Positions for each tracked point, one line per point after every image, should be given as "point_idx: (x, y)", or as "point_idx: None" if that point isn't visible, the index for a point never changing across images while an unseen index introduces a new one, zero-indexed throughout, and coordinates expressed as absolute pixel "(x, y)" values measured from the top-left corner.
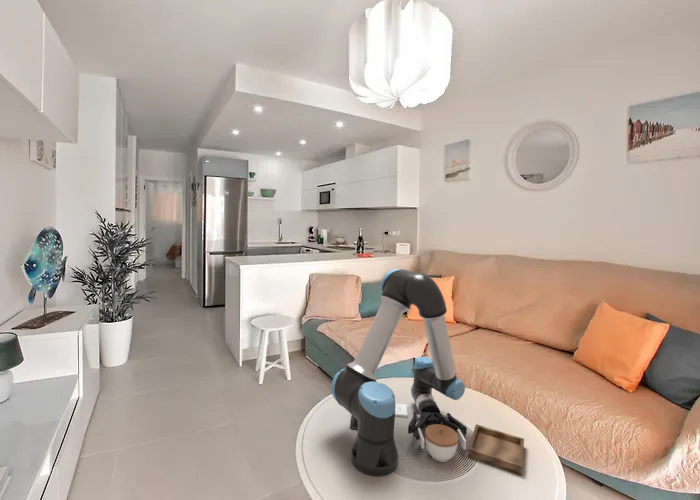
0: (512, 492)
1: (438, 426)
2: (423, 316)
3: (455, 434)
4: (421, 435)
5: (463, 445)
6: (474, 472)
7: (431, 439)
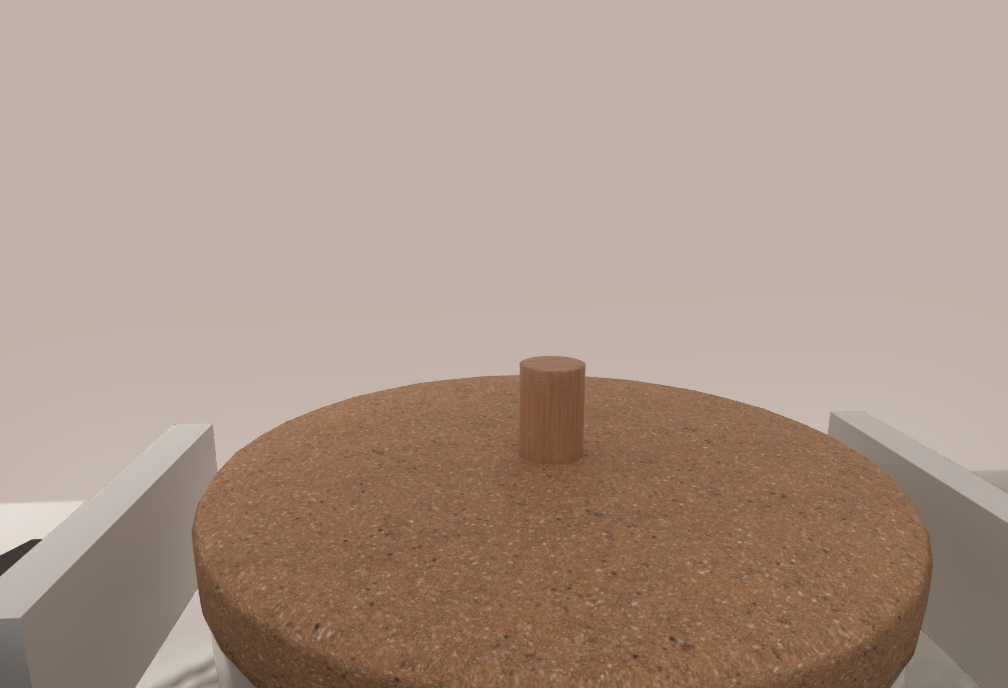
0: (51, 510)
1: (592, 574)
2: None
3: (274, 451)
4: (924, 456)
5: None
6: (203, 626)
7: (729, 400)
